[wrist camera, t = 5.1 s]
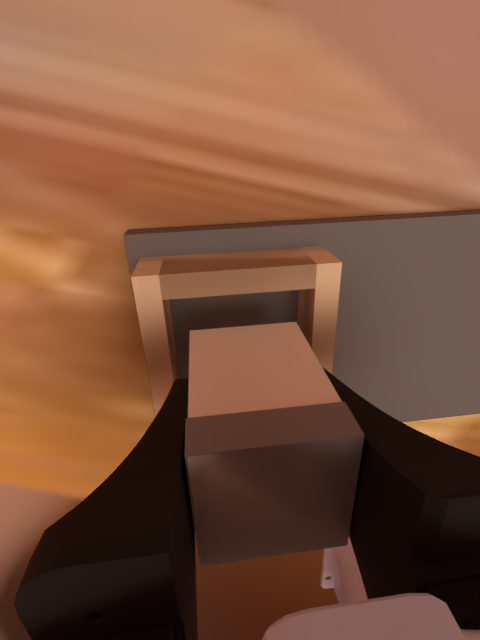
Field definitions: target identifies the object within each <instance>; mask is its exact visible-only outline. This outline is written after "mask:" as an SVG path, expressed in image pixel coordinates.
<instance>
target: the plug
mask: <svg viewBox="0 0 480 640" xmlns="http://www.w3.org/2000/svg"><path fill="white" fill-rule="evenodd" d="M363 442H364V433H363V431H362V430H361V428H360V426H359V425H358V423H357V421H356V419H355V418H354V416H353V414H352V413H351V411H350V409H349V408H348V406H347V404H346V402H342V401H341V399H340V397H339V396H338V394H337V392H336V390H335V389H334V387H333V385H332V383H331V382H330V380H329V378H328V376H327V375H326V373H325V371H324V370H323V368H322V366H321V364H320V363H319V361H318V359H317V357H316V356H315V354H314V352H313V350H312V349H311V347H310V345H309V343H308V342H307V340H306V338H305V337H304V335H303V333H302V331H301V330H300V328H299V326H298V324H297V323H296V322H287V323H275V324H263V325H251V326H239V327H227V328H215V329H203V330H191V331H190V341H189V389H188V418H186V424H185V462H186V469H187V476H188V483H189V490H190V498H191V505H192V512H193V519H194V526H195V533H196V540H197V548H198V554H199V562H200V566H206V565H214V564H221V563H227V562H234V561H242V560H248V559H256V558H263V557H270V556H277V555H284V554H291V553H298V552H305V551H312V550H320V549H327V548H334V547H341V546H347V543H348V537H349V531H350V524H351V518H352V512H353V505H354V499H355V493H356V486H357V480H358V474H359V467H360V461H361V454H362V448H363Z"/></svg>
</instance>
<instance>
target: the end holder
mask: <svg viewBox="0 0 480 640" xmlns="http://www.w3.org/2000/svg"><path fill="white" fill-rule="evenodd" d="M341 270H342V262H341V261H340V260H339V259H337V258H336V257H335V256H334V255H332V254H331V253H330V252H329V251H327V250H326V249H325V248H324V247H322V246H314V247H299V248H283V249H268V250H252V251H237V252H221V253H206V254H190V255H175V256H159V257H144V258H140V259H139V261H138V263H137V265H136V267H135V269H134V272H133V274H132V276H131V280H132V286H133V291H134V297H135V303H136V308H137V314H138V320H139V325H140V331H141V337H142V342H143V348H144V354H145V359H146V365H147V371H148V376H149V382H150V388H151V393H152V399H153V405H154V410H155V416H156V415H157V414H158V412H159V410H160V409H161V407H162V405H163V403H164V401H165V399H166V397H167V395H168V393H169V391H170V389H171V387H172V384H173V382H174V381H175V380H176V379H180V377H179V369H178V362H177V354H176V347H175V339H174V331H173V324H172V316H171V308H170V301H169V299H181V298H195V297H208V296H221V295H235V294H248V293H261V292H275V291H288V290H298V307H297V324H298V326H299V328H300V330H301V331H302V333H303V335H304V337H305V338H306V340H307V342H308V343H309V345H310V347H311V349H312V350H313V352H314V354H315V356H316V357H317V359H318V361H319V363H320V364H321V366H322V367H323V368H325V369H326V370H327V371H328V372H330V373H331V374H332V366H333V355H334V344H335V334H336V323H337V312H338V302H339V291H340V281H341Z"/></svg>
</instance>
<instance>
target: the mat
mask: <svg viewBox="0 0 480 640" xmlns="http://www.w3.org/2000/svg"><path fill="white" fill-rule="evenodd" d="M124 238H125V243H126V249H127V255H128V260H129V266H130V272H131V276H132V274H133V272H134V269H135V267H136V265H137V263H138V261H139V259H140V258H144V257H159V256H175V255H190V254H206V253H221V252H237V251H252V250H268V249H283V248H299V247H314V246H322V247H324V248H325V249H326V250H327V251H329V252H330V253H331V254H332V255H334V256H335V257H336V258H337V259H339V260H340V261H341V262H342V270H341V281H340V291H339V302H338V312H337V323H336V334H335V344H334V355H333V366H332V375H333V376H335V377H336V378H337V379H339V380H340V381H341V382H342V383H344V384H345V385H346V386H347V387H349V388H350V389H351V390H353V391H354V392H355V393H357V394H358V395H359V396H361V397H362V398H364V399H365V400H367V401H368V402H369V403H371V404H372V405H374V406H375V407H377V408H379V409H380V410H382V411H383V412H385V413H386V414H388V415H390V416H391V417H393V418H395V419H397V420H398V421H400V422H408V421H417V420H426V419H435V418H444V417H453V416H462V415H471V414H480V210H465V211H448V212H431V213H413V214H396V215H379V216H361V217H344V218H327V219H310V220H292V221H275V222H258V223H240V224H223V225H206V226H189V227H171V228H154V229H137V230H128V231H127V232H126V233H125V235H124ZM169 301H170V308H171V316H172V324H173V331H174V339H175V347H176V354H177V362H178V369H179V377H180V379H184V378H189V341H190V331H191V330H203V329H215V328H227V327H239V326H251V325H263V324H275V323H287V322H296V323H297V307H298V290H288V291H275V292H261V293H248V294H235V295H221V296H208V297H195V298H181V299H169Z"/></svg>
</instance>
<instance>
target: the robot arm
mask: <svg viewBox="0 0 480 640" xmlns="http://www.w3.org/2000/svg"><path fill="white" fill-rule="evenodd" d="M322 368H323V367H322ZM323 370H324V371H325V373H326V375H327V376H328V378H329V380H330V382H331V383H332V385H333V387H334V389H335V390H336V392H337V394H338V396H339V397H340V399H341V401H342V402H346V404H347V406H348V408H349V409H350V411H351V413H352V414H353V416H354V418H355V419H356V421H357V423H358V425H359V426H360V428H361V430H362V431H363V433H364V442H363V448H362V454H361V461H360V467H359V474H358V480H357V486H356V493H355V499H354V505H353V512H352V518H351V524H350V531H349V537H348V543H347V546H341V547H334V548H327V549H324V551H323V559H322V569H321V577H320V583H321V587H322V588H324V589H328V588H334V590H335V592H336V596H337V599H338V602H339V604H335V605H330V606H323V607H316V608H310V609H305V610H302V611H298V612H295V613H292V614H288V615H285V616H283V617H282V618H281V619H279V620H278V621H276V622H275V623H273V624H272V625H270V626H269V628H268V629H267V631H266V632H265V634H264V637H263V639H262V640H480V457H479V456H476V455H473V454H471V453H468V452H465V451H463V450H460V449H457V448H455V447H452V446H450V445H448V444H445V443H443V442H440V441H438V440H436V439H434V438H432V437H430V436H427V435H425V434H423V433H421V432H419V431H417V430H415V429H413V428H411V427H409V426H407V425H406V424H404V423H402V422H400V421H398V420H397V419H395V418H393V417H391V416H390V415H388V414H386V413H385V412H383V411H382V410H380V409H379V408H377V407H375V406H374V405H372V404H371V403H369V402H368V401H367V400H365V399H364V398H362V397H361V396H359V395H358V394H357V393H355V392H354V391H353V390H351V389H350V388H349V387H347V386H346V385H345V384H344V383H342V382H341V381H340V380H339V379H337V378H336V377H335V376H333V375H332V374H331V373H330V372H328V371H327V370H326V369H325V368H323ZM188 389H189V378H184V379H176V380H175V381H174V382H173V384H172V387H171V389H170V391H169V393H168V395H167V397H166V399H165V401H164V403H163V405H162V407H161V409H160V410H159V412H158V414H157V415H156V417H155V419H154V420H153V422H152V423H151V425H150V426H149V428H148V429H147V431H146V432H145V434H144V435H143V437H142V438H141V440H140V441H139V442H138V444H137V445H136V446H135V448H134V449H133V450H132V451H131V452H130V454H129V455H128V456H127V457H126V458H125V460H124V461H123V462H122V463H121V464H120V465H119V466H118V467H117V468H116V470H115V471H114V472H113V473H112V474H111V475H110V476H109V477H108V478H107V479H106V480H105V481H104V482H103V483H102V484H101V485H100V486H99V487H98V488H96V489H95V490H94V491H93V492H92V493H91V494H90V495H89V496H88V497H87V498H86V499H84V500H83V501H82V502H81V503H80V504H79V505H77V506H76V507H75V508H74V509H73V510H71V511H70V512H68V513H67V514H66V515H64V516H63V517H62V518H61V519H59V520H58V521H57V522H55V523H54V524H53V525H51V526H50V527H49V528H48V529H46V530H45V531H44V533H43V535H42V537H41V539H40V541H39V543H38V545H37V547H36V549H35V551H34V553H33V555H32V557H31V559H30V561H29V564H28V566H27V569H26V571H25V574H24V577H23V579H22V581H21V584H20V586H19V589H18V592H17V594H16V599H15V603H14V605H15V609H16V612H17V614H18V616H19V618H20V620H21V621H22V623H23V625H24V626H25V628H26V630H27V632H28V634H29V635H30V637H31V639H32V640H198V634H197V602H196V565H195V526H194V519H193V512H192V505H191V498H190V490H189V483H188V476H187V469H186V462H185V424H186V418H188Z"/></svg>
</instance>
